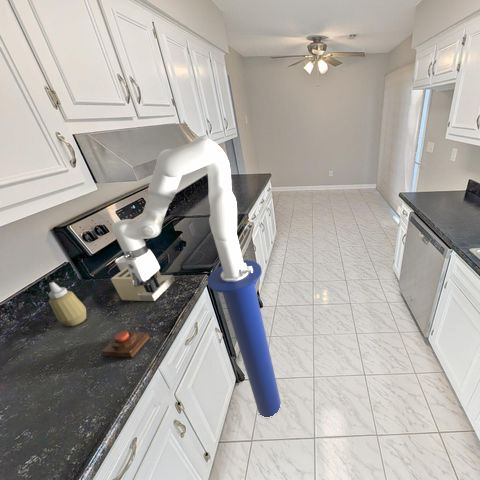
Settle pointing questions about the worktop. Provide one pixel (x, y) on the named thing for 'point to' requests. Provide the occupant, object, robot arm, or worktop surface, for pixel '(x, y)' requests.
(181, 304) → the worktop surface
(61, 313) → the squeeze bottle
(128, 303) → the worktop surface
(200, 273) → the worktop surface
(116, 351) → the base
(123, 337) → the timer button
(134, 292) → the toaster
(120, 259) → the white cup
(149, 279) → the toaster slider
